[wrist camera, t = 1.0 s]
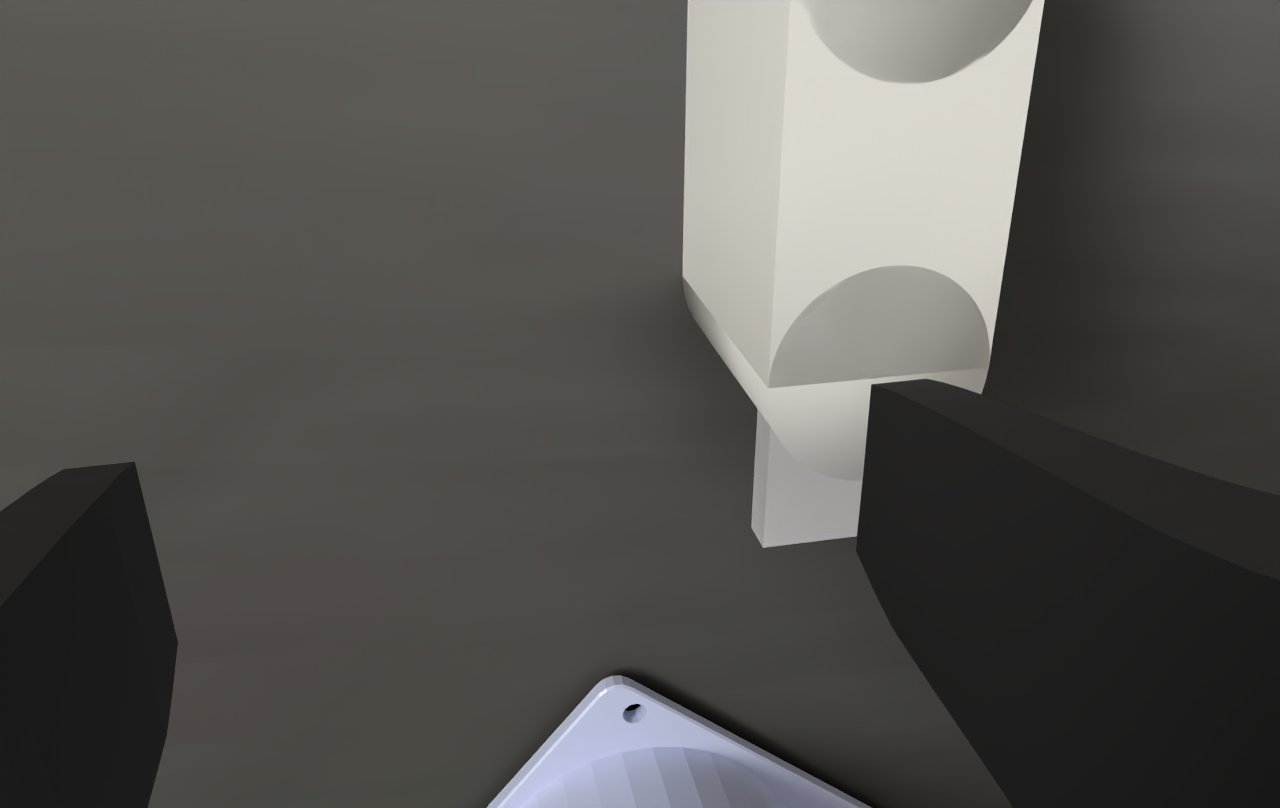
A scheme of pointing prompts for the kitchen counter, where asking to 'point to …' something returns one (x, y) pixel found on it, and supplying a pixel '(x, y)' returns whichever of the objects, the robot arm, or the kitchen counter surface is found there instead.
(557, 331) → the kitchen counter surface
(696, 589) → the kitchen counter surface
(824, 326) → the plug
